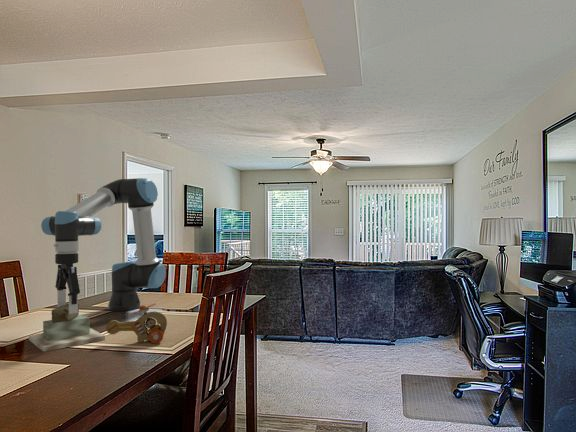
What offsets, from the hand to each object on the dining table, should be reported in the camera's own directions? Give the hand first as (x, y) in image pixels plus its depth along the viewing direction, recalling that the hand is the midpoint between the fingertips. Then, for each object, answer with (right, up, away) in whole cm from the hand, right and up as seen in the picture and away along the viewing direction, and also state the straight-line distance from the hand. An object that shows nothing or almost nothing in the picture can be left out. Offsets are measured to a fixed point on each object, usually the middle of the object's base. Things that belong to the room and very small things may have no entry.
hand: (67, 310), depth 152 cm
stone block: (0, -3, -1) cm, 4 cm away
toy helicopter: (+28, -11, -3) cm, 30 cm away
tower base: (0, -11, 0) cm, 11 cm away
